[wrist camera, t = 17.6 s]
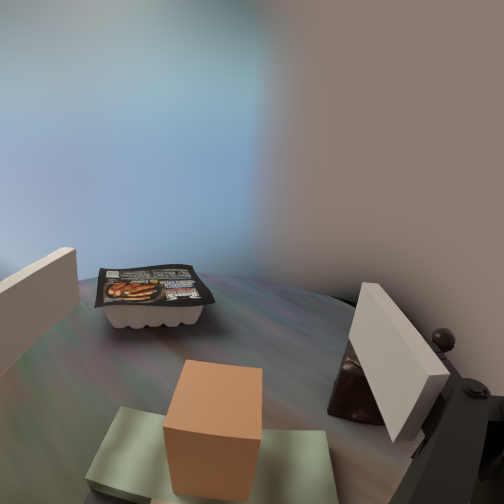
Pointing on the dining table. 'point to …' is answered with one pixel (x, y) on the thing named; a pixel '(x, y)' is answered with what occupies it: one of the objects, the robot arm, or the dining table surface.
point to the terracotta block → (214, 430)
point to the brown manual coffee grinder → (366, 385)
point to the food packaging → (152, 295)
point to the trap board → (165, 500)
